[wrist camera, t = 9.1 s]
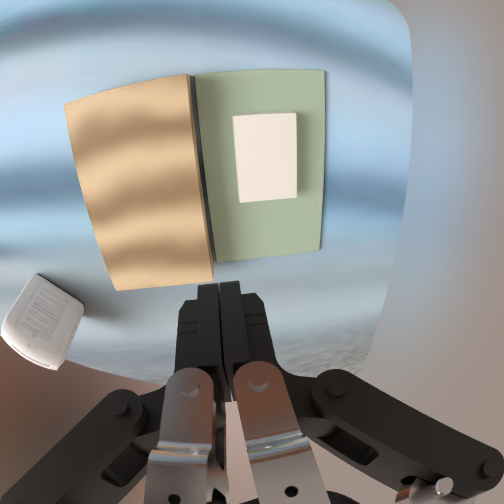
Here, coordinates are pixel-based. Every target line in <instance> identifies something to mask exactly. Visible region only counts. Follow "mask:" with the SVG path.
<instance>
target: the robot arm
mask: <svg viewBox="0 0 504 504" xmlns="http://www.w3.org/2000/svg"><path fill="white" fill-rule="evenodd" d="M219 287H220V291H219ZM177 333H178V334H177V342H176V356H175V370H174V374H173V375H172V376H171V377H170V378H169V380H168V382H167V384H166V385H165V386H163V387H162V388H160V389H158V390H156V391H153V392H150V393H147V394H144V395H140V396H138V395H137V394H136V393H134V392H132V391H130V390H126V389H119V390H115V391H113V392H111V393H109V394H108V395H107V396H106V397H105V398H104V399H103V400H102V401H101V402H100V403H98V404H97V405H96V406H95V407H94V408H93V409H92V410H91V411H90V412H89V413H88V414H87V415H86V416H85V417H84V418H83V419H82V420H81V421H80V422H79V423H78V424H77V425H76V426H75V427H74V428H73V429H72V430H70V432H68V433H67V434H66V435H65V436H64V437H63V438H62V439H61V440H60V441H59V442H58V443H57V444H56V445H55V446H54V447H53V448H52V449H51V450H50V451H49V452H48V453H47V454H46V455H45V456H43V457H42V459H40V460H39V461H38V462H37V463H36V464H35V465H34V466H33V467H32V468H31V469H30V470H29V471H28V472H27V473H26V474H25V475H24V476H23V477H22V478H21V479H20V480H19V481H18V482H17V483H15V484H14V485H13V486H12V487H11V488H10V489H9V490H8V491H7V492H6V493H5V494H4V495H3V496H2V498H1V501H0V504H118V503H119V502H120V501H121V500H122V499H123V498H124V497H125V496H126V495H127V494H128V493H129V491H131V490H132V489H133V488H134V486H136V484H137V483H138V482H139V481H140V480H141V479H142V478H143V477H144V476H145V475H146V483H145V494H144V504H229V484H228V483H229V482H228V476H227V468H226V413H225V402H231V393H232V397H233V401H237V405H238V410H239V415H240V419H241V424H242V429H243V433H244V438H245V442H246V447H247V452H248V457H249V461H250V466H251V470H252V474H253V478H254V482H255V487H256V491H257V495H258V498H256V499H254V500H250V501H248V502H244V503H241V504H360V503H358V502H357V501H355V500H353V499H351V498H349V497H347V496H345V495H342V494H339V493H336V492H332V491H327V490H326V489H325V486H324V483H323V480H322V477H321V474H320V471H319V469H318V466H317V463H316V460H315V457H314V454H313V451H312V449H311V446H310V443H309V442H308V440H307V438H306V437H305V436H307V437H308V438H310V439H311V440H312V441H314V442H315V443H317V444H318V445H320V446H321V447H323V448H324V449H326V450H327V451H329V452H331V453H332V454H334V455H335V456H337V457H338V458H340V459H341V460H343V461H345V462H346V463H348V464H350V465H351V466H353V467H355V468H356V469H358V470H360V471H361V472H363V473H365V474H366V475H368V476H370V477H372V478H373V479H375V480H377V481H379V482H381V483H383V484H385V485H386V486H388V487H390V488H392V489H394V490H396V491H398V493H397V495H396V499H395V504H473V502H474V500H475V498H476V496H477V495H479V494H481V493H483V492H486V491H488V490H490V489H492V488H494V487H495V486H496V485H497V484H498V483H499V482H500V480H501V478H502V476H503V474H504V458H503V456H502V454H501V453H500V452H499V451H498V450H497V449H495V448H492V447H490V446H488V445H486V444H484V443H482V442H479V441H477V440H475V439H473V438H471V437H469V436H467V435H465V434H463V433H460V432H458V431H456V430H454V429H452V428H450V427H448V426H446V425H444V424H443V423H440V422H439V421H437V420H434V419H433V418H431V417H429V416H427V415H425V414H423V413H421V412H419V411H417V410H416V409H414V408H412V407H410V406H408V405H406V404H404V403H403V402H401V401H399V400H397V399H395V398H393V397H392V396H390V395H388V394H386V393H385V392H383V391H381V390H379V389H377V388H376V387H374V386H372V385H370V384H368V383H367V382H365V381H363V380H362V379H360V378H358V377H357V376H355V375H353V374H351V373H350V372H348V371H345V370H341V369H331V370H327V371H325V372H323V373H321V374H320V375H319V376H317V378H313V377H303V376H296V375H293V374H290V373H288V372H286V371H285V370H284V369H282V368H281V367H280V365H279V364H278V362H277V360H276V357H275V352H274V348H273V343H272V339H271V335H270V330H269V326H268V321H267V317H266V312H265V308H264V303H263V301H262V300H261V299H260V298H259V296H258V295H257V294H256V293H249V294H241V291H240V284H239V281H230V282H222V283H219V285H218V283H214V284H204V285H198V296H197V299H196V300H186V301H185V302H184V304H183V306H182V307H181V309H180V310H179V317H178V329H177ZM230 389H231V391H230Z"/></svg>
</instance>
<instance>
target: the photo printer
mask: <svg viewBox="0 0 504 504" xmlns="http://www.w3.org/2000/svg"><path fill="white" fill-rule="evenodd" d="M83 313H84V306H83V304H82V303H81V302H79V301H78V300H77V299H75V298H73V297H72V296H70V295H69V294H67V293H66V292H64V291H62V290H61V289H59V288H58V287H56V286H55V285H53V284H52V283H50V282H49V281H47V280H46V279H44V278H42V277H41V276H39V275H37V274H34V275H33V276H32V277H31V278H30V279H29V281H28V282H27V284H26V285H25V287H24V288H23V290H22V291H21V293H20V294H19V296H18V297H17V299H16V301H15V302H14V304H13V305H12V307H11V309H10V310H9V312H8V314H7V315H6V317H5V319H4V322H3V325H2V329H1V336H2V337H3V339H4V340H5V341H6V342H7V343H8V344H9V345H10V346H11V347H12V348H13V349H14V350H15V351H16V352H18V353H19V354H20V355H21V356H23V357H24V358H26V359H28V360H29V361H32V362H33V363H35V364H37V365H40V366H42V367H45V368H49V369H53V370H58V367H59V366H60V365H61V364H62V363H63V362H64V361H65V358H66V356H67V353H68V350H69V348H70V345H71V342H72V340H73V337H74V335H75V332H76V330H77V327H78V325H79V322H80V320H81V318H82V315H83Z"/></svg>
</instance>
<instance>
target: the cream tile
mask: <svg viewBox="0 0 504 504" xmlns="http://www.w3.org/2000/svg"><path fill="white" fill-rule="evenodd" d="M232 121H233V135H234V148H235V160H236V173H237V185H238V197H239V201H240V203H244V202H254V201H265V200H276V199H287V198H297V131H296V113H294V112H292V111H280V112H257V113H242V114H232Z"/></svg>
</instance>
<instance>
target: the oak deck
mask: <svg viewBox="0 0 504 504" xmlns="http://www.w3.org/2000/svg"><path fill="white" fill-rule="evenodd" d="M64 108H65V114H66V121H67V126H68V132H69V137H70V142H71V147H72V152H73V157H74V161H75V165H76V170H77V174H78V178H79V182H80V185H81V189H82V193H83V197H84V200H85V204H86V207H87V210H88V214H89V217H90V220H91V223H92V226H93V230H94V233H95V236H96V239H97V242H98V244H99V247H100V250H101V253H102V256H103V258H104V261H105V264H106V266H107V269H108V272H109V274H110V277H111V279H112V282H113V284H114V287H115V289H116V291H119V290H130V289H141V288H151V287H162V286H172V285H182V284H191V283H201V282H210V281H213V258H212V252H211V245H210V239H209V232H208V225H207V218H206V211H205V204H204V197H203V189H202V182H201V174H200V166H199V158H198V149H197V141H196V132H195V122H194V113H193V103H192V92H191V81H190V75H187V74H183V75H176V76H170V77H164V78H159V79H154V80H149V81H144V82H139V83H135V84H130V85H126V86H122V87H118V88H114V89H111V90H107V91H103V92H100V93H97V94H93V95H90V96H87V97H84V98H81V99H77V100H75V101H72V102H69V103H66V104H64Z"/></svg>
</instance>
